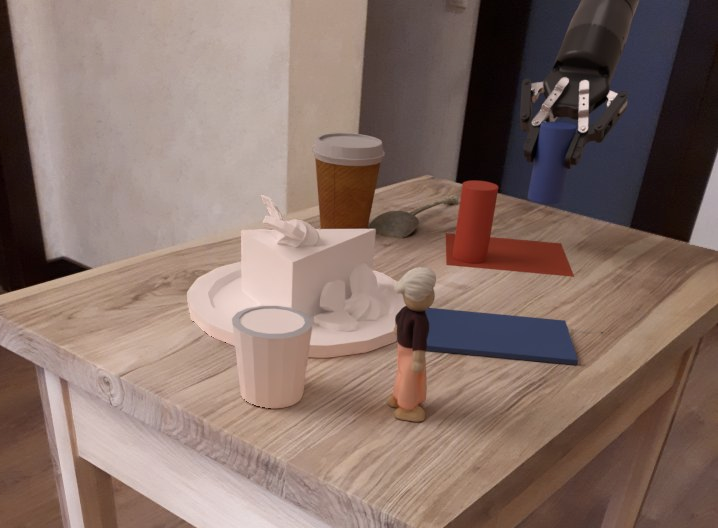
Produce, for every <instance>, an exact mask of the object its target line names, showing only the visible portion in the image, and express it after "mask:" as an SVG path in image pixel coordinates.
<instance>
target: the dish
mask: <svg viewBox="0 0 718 528" xmlns="http://www.w3.org/2000/svg"><path fill="white" fill-rule="evenodd" d="M260 199H261V200H262V202H263V204H264V206H265V208H266V210H267V212H268V213H269V215H265V217H264V219H263V220H262V224H264V225H266V226H267V227H269V228H271V229H269V228H267V229H266V228H265V229H264V228H263V229H258V228H257V229H240V254H241V255H240V260H241V261H237V262H233V263H230V264H226V265H220V266H218V267H216V268H214V269H212V270H210V271H207V272H206V273H204V274H202V275H200V276H199V277H197V278H196V279H195V281H194V282H193V283H192V285H191V286H190V287H189V288H188V290H187V291H186V301H187V302H186V303H188V304H187V309H188V308H189V309H188V314H189V313H190V314H189V317H190V318H191V319H190V321H191V320H192V321H194V322H195V323H196V324H197V325H198V326H199V327H200V328H199V327H198V326H197V325H196V324H195V323H194V322H193V323H194V324H195V325H196V326H197V327H198V328H199V329H201V331H203V332H204V331H205V332H206V333H207V334H208V335H207V334H206V333H205V332H204V333H205V334H206V335H207V336H208V337H211V336H212V337H211V338H213V337H214V338H213V339H216V340H217V341H220V342H223V343H225V342H226V344H228V345H231V346H232V347H235V341H234V333H233V324H232V318H233V317H234V316H235V314H236V313H238V312H240V311H242V310H244V309H247V308H252V307H257V306H281V307H288V308H293V309H295V310H298V311H301V312H303V313H305V314H306V315H307V316H309V317H310V318H311V321H312V324H313V325H312V333H311V340H310V347H309V354H308V358H312V359H315V358H316V359H329V358H330V359H331V358H336V357H345V356H350V355H357V354H365V353H369V352H372V351H374V350H377V349H380V348H383V347H386V346H388V345H391V344H393V343H396V342H397V336H396V335H395V334H394V327H395V317H396V314H397V313H398V312H399V311H400V310H401V309H402V308H403V307H405V306H406V305H405V303H404V299H403V294H402V293H399V294H398V293H396V291H395V289H394V288H395V286H396V284H397V283H398V281H397V280H395V279H394V278H392V277H390V276H389V275H387V274H384V273H383V272H381V271H378V270H375V269H373V267H374V258H375V257H374V255H375V244H376V233H375V232H376V229H370V228H368V229H321V228H315V227H314V226H313V225H311V224H310V223H309V222H306V221H304V220H302V219H300V218H299V219H294V218H292V219H289V220H283V219H284V218H283V215H282V214H281V211H280V210H279V208H278V206H277V204H276V203H275V202H274V200H273V199H272V198H270V197H269V196H266V195H265V194H261V195H260ZM192 321H191V322H192Z"/></svg>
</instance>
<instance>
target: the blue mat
mask: <svg viewBox="0 0 718 528" xmlns="http://www.w3.org/2000/svg"><path fill="white" fill-rule="evenodd" d="M425 312H426V315H427V318H428V321H429V325H430V326H429V334H428V337H427V349H426V352H427V351H428V352H437V353H447V354H449V353H450V354H456V355H457V354H458V355H466V356H467V355H469V356H478V357H479V356H480V357H488V358H499V359H509V360H511V359H512V360H519V361H529V362H541V363H552V364H561V365H562V364H563V365H571V366H572V365H574V366H578V362H579V359H578V355H577V353H576V349H575V346H574V343H573V340H572V337H571V333H570V331H569V328H568V326H567V321H566V320H562V319H552V318H543V317H533V316H532V317H531V316H521V315H510V314H500V313H489V312H479V311H470V310H469V311H468V310H458V309H449V308H447V309H446V308H437V307H429V308H428V309H427V310H425Z"/></svg>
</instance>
